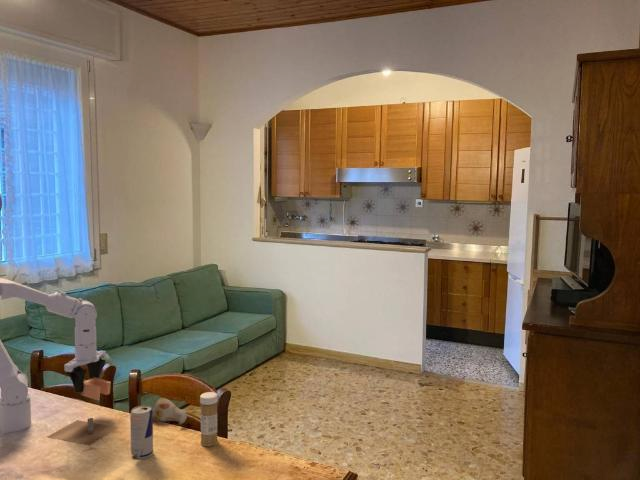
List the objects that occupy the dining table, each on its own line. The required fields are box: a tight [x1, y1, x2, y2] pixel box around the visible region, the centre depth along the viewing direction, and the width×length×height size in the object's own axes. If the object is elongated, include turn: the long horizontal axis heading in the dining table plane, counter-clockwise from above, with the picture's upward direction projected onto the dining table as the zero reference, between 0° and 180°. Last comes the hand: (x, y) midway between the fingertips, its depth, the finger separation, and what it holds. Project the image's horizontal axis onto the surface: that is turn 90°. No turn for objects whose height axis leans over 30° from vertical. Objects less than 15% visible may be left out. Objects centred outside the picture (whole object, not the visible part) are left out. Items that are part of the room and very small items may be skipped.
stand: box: [46, 417, 119, 446], centre depth 138 cm, size 14×11×6 cm
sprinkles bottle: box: [199, 391, 219, 447], centre depth 136 cm, size 5×5×14 cm
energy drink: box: [129, 405, 154, 461], centre depth 129 cm, size 5×5×12 cm
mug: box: [152, 397, 188, 425], centre depth 149 cm, size 8×10×10 cm
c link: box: [79, 377, 112, 401], centre depth 148 cm, size 6×5×4 cm
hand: (86, 388), depth 149 cm, fingers closed on c link, 5 cm apart
